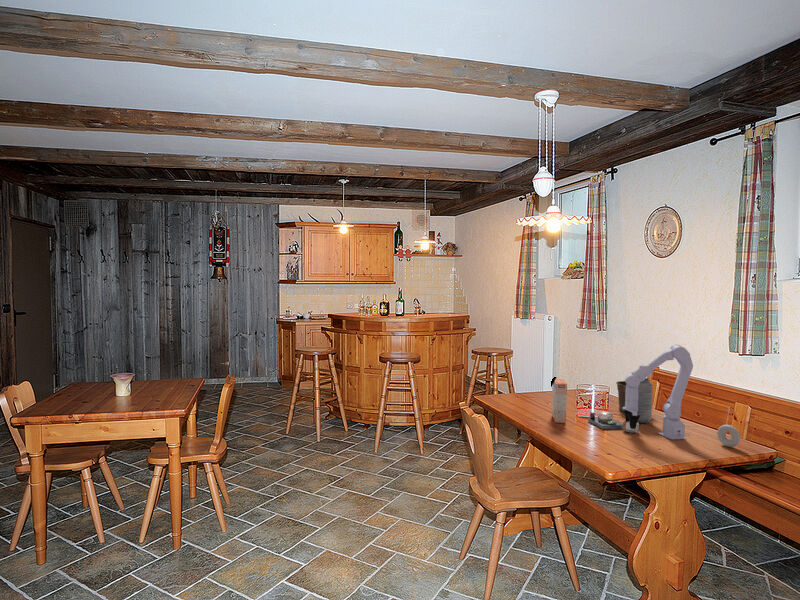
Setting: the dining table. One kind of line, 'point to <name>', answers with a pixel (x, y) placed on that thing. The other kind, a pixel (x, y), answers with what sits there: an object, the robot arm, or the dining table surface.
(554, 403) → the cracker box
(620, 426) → the levelling base
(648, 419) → the vase
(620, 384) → the plant pot
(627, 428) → the wing knob
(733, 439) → the donut
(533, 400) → the dining table surface
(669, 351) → the robot arm
